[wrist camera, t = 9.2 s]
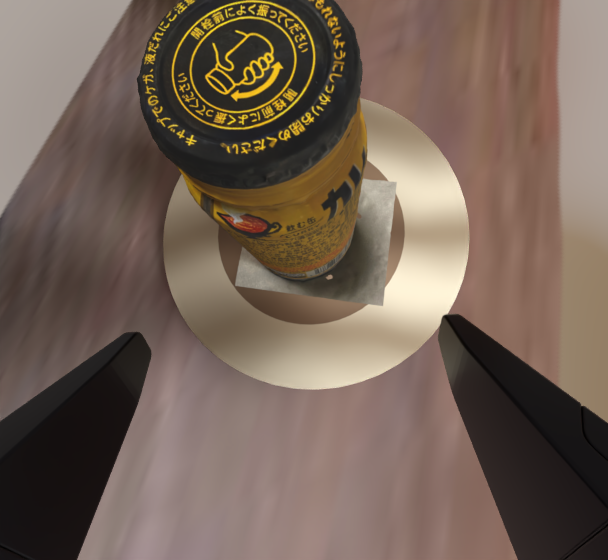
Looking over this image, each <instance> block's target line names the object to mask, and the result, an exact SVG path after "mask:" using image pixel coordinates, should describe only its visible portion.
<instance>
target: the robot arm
mask: <svg viewBox="0 0 608 560" xmlns="http://www.w3.org/2000/svg"><path fill="white" fill-rule="evenodd" d="M438 341H439V346H440V349H441V353H442V357H443V361H444V364H445V368H446V372H447V376H448V380H449V383H450V387H451V390H452V393H453V396H454V399H455V402H456V404H457V407H458V409H459V412H460V414H461V417H462V419H463V422H464V424H465V427H466V429H467V432H468V434H469V437H470V440H471V442H472V445H473V447H474V450H475V452H476V455H477V457H478V460H479V462H480V465H481V467H482V470H483V472H484V475H485V477H486V480H487V483H488V485H489V488H490V490H491V493H492V495H493V498H494V500H495V503H496V505H497V508H498V510H499V513H500V515H501V518H502V521H503V523H504V526H505V528H506V531H507V533H508V536H509V538H510V541H511V543H512V546H513V548H514V551H515V553H516V556H517V558H518V560H608V423H607V422H606V421H604V420H603V419H601V418H600V417H599V416H598V415H596V414H595V413H593V412H592V411H590V410H589V409H588V408H587V407H585V406H581V404H580V402H578V401H577V400H576V399H574V398H573V397H571V396H570V395H569V394H567V393H566V392H564V391H563V390H562V389H561V388H559V387H558V386H556V385H555V384H554V383H552V382H551V381H550V380H548V379H547V378H546V377H544V376H543V375H541V374H540V373H539V372H537V371H536V370H535V369H533V368H532V367H531V366H529V365H528V364H526V363H525V362H524V361H522V360H521V359H520V358H518V357H517V356H516V355H514V354H513V353H511V352H510V351H509V350H507V349H506V348H505V347H503V346H502V345H501V344H499V343H498V342H496V341H495V340H494V339H492V338H491V337H490V336H488V335H487V334H486V333H484V332H483V331H481V330H480V329H479V328H477V327H476V326H475V325H473V324H472V323H471V322H469V321H468V320H466V319H465V318H464V317H462V316H461V315H459V314H445V315H443V316H442V319H441V324H440V329H439V334H438ZM150 360H151V349H150V347H149V346H148V344H147V342H146V340H145V339H144V337H143V335H142V334H141V333H140V332H127V333H124V334H123V335H121V336H120V337H119V338H117V339H116V340H114V341H113V342H111V343H110V344H109V345H107V346H106V347H104V348H103V349H102V350H100V351H99V352H97V353H96V354H95V355H93V356H92V357H90V358H89V359H88V360H86V361H85V362H83V363H82V364H80V365H79V366H78V367H76V368H75V369H73V370H72V371H71V372H69V373H68V374H66V375H65V376H64V377H62V378H61V379H59V380H58V381H57V382H55V383H54V384H52V385H51V386H49V387H48V388H47V389H45V390H44V391H42V392H41V393H40V394H38V395H37V396H35V397H34V398H33V399H31V400H30V401H28V402H27V403H26V404H24V405H23V406H21V407H20V408H18V409H17V410H16V411H14V412H13V413H11V414H10V415H9V416H7V417H6V418H4V419H3V420H2V421H0V560H77V558H78V556H79V553H80V551H81V548H82V546H83V543H84V540H85V538H86V535H87V533H88V530H89V528H90V525H91V523H92V520H93V518H94V515H95V512H96V510H97V507H98V505H99V502H100V500H101V497H102V495H103V492H104V489H105V487H106V484H107V482H108V479H109V477H110V474H111V472H112V469H113V467H114V464H115V461H116V459H117V456H118V454H119V451H120V449H121V446H122V444H123V441H124V438H125V436H126V433H127V431H128V428H129V426H130V423H131V421H132V418H133V416H134V413H135V410H136V408H137V405H138V402H139V399H140V396H141V392H142V388H143V385H144V381H145V378H146V374H147V370H148V367H149V363H150Z"/></svg>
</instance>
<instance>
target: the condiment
mask: <svg viewBox="0 0 608 560" xmlns="http://www.w3.org/2000/svg"><path fill="white" fill-rule="evenodd" d="M361 81H362V62H361V59H360V49H359V46H358V43H357V39H356V34H355V30H354V28H353V26H352V25H351V23H350V22H349V20H348V19H347V18H346V16H345V14H344V12H343V11H342V10H341V8H340V7H339V5H338V4H337V3H336V2H335V1H334V0H181V1H180V2H179V3H177V4H176V6H174V7H173V9H172V10H170V11H169V13H168V14H167V15H166V16H165V17H164V18H163V19H162V21H161V22H160V24H159V25H158V27H157V28H156V30H155V31H154V32H153V34H152V36H151V37H150V39H149V41H148V43H147V47H146V51H145V54H144V57H143V59H142V65H141V70H140V74H139V76H138V78H137V82H138V92H139V95H140V104H141V110H142V113H143V116H144V119H145V121H146V123H147V125H148V128H149V130H150V132H151V135H152V137H153V139H154V141H155V142H156V143H157V145H158V147H159V149H160V150H161V151H162V152H163V153H164V154H165V155H166V157H167V158H168V159H170V160H171V161H172V162H173V163H174V164H175V165H176V166H177V167H178V169H179V171H180V172H181V174H182V175H183V178H184V180H185V182H186V185H187V187H188V190H189V192H190V194H191V195H192V196H193V198H194V200H195V201H196V203H197V204H198V205H199V206H200V207H201V209H202V210H203V211H205V212H206V213H207V214H208V215H209V217H210V218H211V219H213V220H214V221H215V222H216V223H217V224H218V225H219V226H221V227H222V228H223V229H224V230H225V231H226V232H227V233H228V234H229V235H230V236H231V237H232V238H234V239H235V240H236V241H237V242H238V243H239V244H240V245H241V246H242V251H241V255H240V260H239V266H238V271H237V276H236V282H235V286H240V287H247V288H254V289H261V290H268V291H276V292H283V293H290V294H297V295H305V296H312V297H320V298H327V299H334V300H341V301H347V302H356V303H364V304H371V305H378V306H383V302H384V291H385V282H386V273H387V264H388V253H389V246H390V237H391V234H390V232H391V228H392V219H393V211H394V201H395V194H396V186H397V182H389V181H382V180H368V179H363V175H364V169H365V166H366V162H367V152H368V149H367V130H366V124H365V120H364V116H363V113H362V111H361V103H360V85H361ZM358 213H359V214H360V215H361V218H360V219H358V218H357V214H358ZM328 275H332V279H329V280H328V279H327V278H326V277H328Z"/></svg>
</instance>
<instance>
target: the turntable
mask: <svg viewBox="0 0 608 560" xmlns="http://www.w3.org/2000/svg"><path fill="white" fill-rule="evenodd" d="M360 103H361V111H362V113H363V116H364V120H365V124H366V130H367V149H368V152H367V162H366V166H365V169H364V175H363V179H368V180H382V181H389V182H397V186H396V194H395V201H394V211H393V219H392V228H391V232H390V234H391V237H390V246H389V253H388V264H387V273H386V282H385V291H384V302H383V306H378V305H371V304H364V303H356V302H347V301H341V300H334V299H327V298H320V297H312V296H305V295H297V294H290V293H283V292H276V291H268V290H261V289H254V288H247V287H240V286H235V282H236V276H237V271H238V266H239V260H240V255H241V251H242V246H241V245H240V244H239V243H238V242H237V241H236V240H235V239H234V238H232V237H231V236H230V235H229V234H228V233H227V232H226V231H225V230H224V229H223V228H222V227H221V226H219V225H218V224H217V223H216V222H215V221H214V220H213V219H211V218H210V217H209V215H208V214H207V213H206V212H205V211H203V210H202V209H201V207H200V206H199V205H198V204H197V203H196V201H195V200H194V198H193V196H192V195H191V194H190V192H189V190H188V187H187V185H186V182H185V180H184V178H183V175H182V174H181V176H180V178H179V180H178V182H177V184H176V186H175V188H174V191H173V194H172V197H171V200H170V203H169V206H168V210H167V215H166V219H165V225H164V236H163V253H164V264H165V270H166V276H167V280H168V283H169V287H170V290H171V293H172V296H173V298H174V301H175V303H176V305H177V307H178V309H179V311H180V314H181V315H182V317H183V318H184V320H185V321H186V323H187V324H188V326H189V328H190V329H191V331H192V332H193V333H194V334H195V335H196V336H197V338H198V339H199V340H200V341H201V342H202V343H203V345H204V346H206V347H207V348H208V349H209V350H210V351H211V352H212V353H213V354H215V355H216V356H217V357H218V358H219V359H221V360H222V361H224V362H225V363H227V364H228V365H230V366H231V367H233V368H234V369H236V370H238V371H240V372H242V373H244V374H246V375H248V376H250V377H252V378H254V379H257V380H260V381H263V382H266V383H270V384H273V385H277V386H283V387H288V388H294V389H314V390H318V389H328V388H338V387H342V386H347V385H351V384H355V383H359V382H362V381H364V380H367V379H370V378H372V377H375V376H377V375H380V374H382V373H384V372H385V371H387V370H389V369H391V368H393V367H394V366H396V365H398V364H400V363H401V362H402V361H404V360H405V359H406V358H408V357H409V356H410V355H412V354H413V353H414V352H416V351H417V350H418V349H419V348H420V347H421V346H422V345H423V344H424V343H425V342H426V341H427V340H428V339H429V338H430V337H431V336H432V335H433V333H434V332H435V331H436V329H437V328H438V327H439V325H440V324H441V319H442V316H443V315H445V314H448V312H449V310H450V308H451V307H452V305H453V303H454V301H455V299H456V297H457V294H458V292H459V289H460V286H461V284H462V281H463V278H464V273H465V269H466V265H467V260H468V250H469V224H468V215H467V210H466V205H465V200H464V197H463V194H462V191H461V188H460V186H459V183H458V180H457V178H456V176H455V174H454V172H453V170H452V169H451V167H450V165H449V163H448V161H447V160H446V159H445V157H444V156H443V154H442V153H441V152H440V150H439V149H438V147H437V146H436V145H435V144H434V143H433V142H432V141H431V140H430V139H429V138H428V137H427V135H426V134H425V133H424V132H422V131H421V130H420V129H419V128H418V127H416V126H415V125H414V124H413V123H411V122H410V121H409V120H407V119H406V118H404V117H402V116H401V115H399V114H398V113H396V112H394V111H393V110H391V109H388V108H386V107H384V106H382V105H380V104H377V103H375V102H372V101H369V100H365V99H362V98H360ZM357 218H358V219H360V218H361V215H360V214H359V213H358V214H357ZM326 278H327V279H328V280H329V279H332V275H328V277H326Z"/></svg>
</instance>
